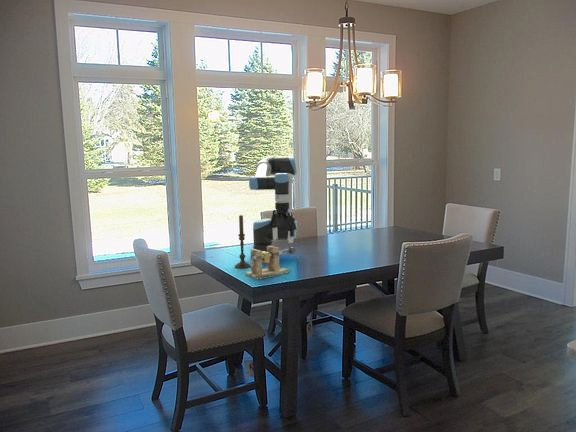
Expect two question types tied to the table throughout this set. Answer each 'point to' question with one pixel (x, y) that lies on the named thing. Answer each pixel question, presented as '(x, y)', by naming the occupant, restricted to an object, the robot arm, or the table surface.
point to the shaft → (280, 252)
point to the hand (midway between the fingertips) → (282, 241)
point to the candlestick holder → (241, 238)
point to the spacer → (265, 257)
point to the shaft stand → (271, 266)
